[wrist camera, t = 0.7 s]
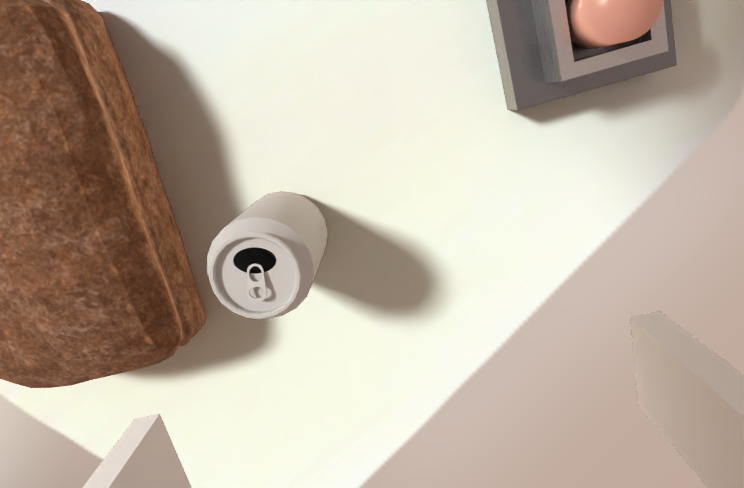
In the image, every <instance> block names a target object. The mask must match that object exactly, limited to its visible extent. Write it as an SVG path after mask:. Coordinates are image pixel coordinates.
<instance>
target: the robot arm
mask: <svg viewBox="0 0 744 488" xmlns="http://www.w3.org/2000/svg"><path fill="white" fill-rule="evenodd" d="M630 324H631V334H632V344H633V354H634V364H635V374H636V385H637V395H638V405H639V406H640V407H641V409H642V410H643V411H644V412H645V414H646V415H647V416H648V417H649V418H650V419H651V421H652V422H653V423H654V424H655V425H656V427H657V428H658V429H659V430H660V431H661V433H662V434H663V435H664V436H665V437H666V439H667V440H668V441H669V442H670V443H671V444H672V446H673V447H674V448H675V449H676V451H677V452H678V453H679V454H680V455H681V456H682V458H683V459H684V460H685V461H686V462H687V464H688V465H689V466H690V467H691V468H692V469H693V471H694V472H695V473H696V474H697V476H698V477H699V478H700V479H701V480H702V481H703V483H705V485H706V486H707V487H708V488H744V375H743V374H742V373H741V372H739V371H738V370H737V369H735V368H734V367H733V366H731V365H730V364H729V363H728V362H726V361H725V360H724V359H722V358H721V357H720V356H718V355H717V354H716V353H714V352H713V351H712V350H710V349H709V348H708V347H706V346H705V345H704V344H703V343H701V342H700V341H699V340H697V339H696V338H695V337H693V336H692V335H691V334H689V333H688V332H687V331H686V330H684V329H683V328H682V327H680V326H679V325H678V324H676V323H675V322H674V321H672V320H671V319H670V318H669V317H667V316H666V315H665V314H663V313H662V312H661V311H656V312H651V313H647V314H642V315H637V316H632V317H630ZM83 488H191V485H190V483H189V481H188V479H187V476H186V474H185V472H184V469H183V467H182V465H181V462H180V460H179V458H178V455H177V453H176V451H175V448H174V446H173V444H172V441H171V439H170V437H169V434H168V432H167V430H166V427H165V425H164V423H163V420H162V418H161V416H160V414H157V415H152V416H147V417H142V418H138V419H134V420H133V422H132V423H131V424H130V426H129V427H128V428H127V430H126V431H125V432H124V434H123V435H122V436H121V438H120V439H119V440H118V442H117V443H116V444H115V446H114V447H113V448H112V449H111V451H110V452H109V453H108V455H107V456H106V457H105V459H104V460H103V461H102V463H101V464H100V465H99V467H98V468H97V469H96V471H95V472H94V473H93V475H92V476H91V477H90V479H89V480H88V481H87V482H86V484H85V485H84V487H83Z"/></svg>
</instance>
